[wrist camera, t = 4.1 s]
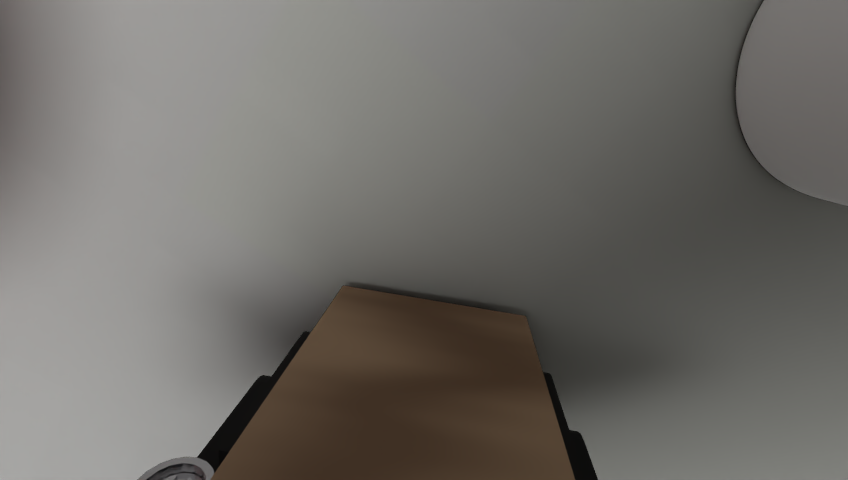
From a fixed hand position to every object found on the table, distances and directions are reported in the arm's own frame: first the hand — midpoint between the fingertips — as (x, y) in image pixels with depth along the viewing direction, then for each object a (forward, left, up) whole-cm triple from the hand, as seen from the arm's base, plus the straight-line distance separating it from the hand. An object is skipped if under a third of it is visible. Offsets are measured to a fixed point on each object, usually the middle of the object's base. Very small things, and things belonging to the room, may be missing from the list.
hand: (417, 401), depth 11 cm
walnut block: (0, 0, -1) cm, 1 cm away
